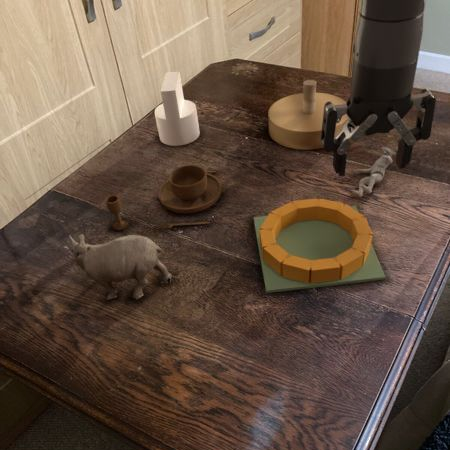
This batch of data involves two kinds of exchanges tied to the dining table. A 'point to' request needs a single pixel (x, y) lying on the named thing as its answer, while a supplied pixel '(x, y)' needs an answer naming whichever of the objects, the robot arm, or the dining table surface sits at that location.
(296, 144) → the ring stand
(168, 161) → the dining table surface
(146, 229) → the dining table surface
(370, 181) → the soldier figure
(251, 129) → the dining table surface
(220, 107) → the dining table surface
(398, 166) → the robot arm
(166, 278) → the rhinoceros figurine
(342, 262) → the ring
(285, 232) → the mat
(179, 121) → the base with upright slab
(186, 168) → the place setting
